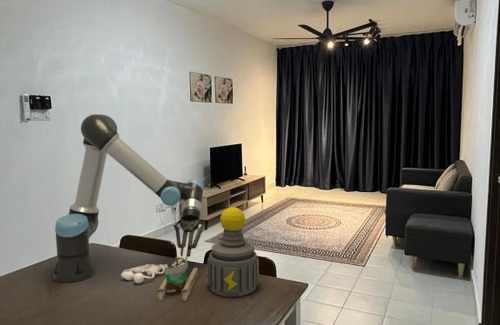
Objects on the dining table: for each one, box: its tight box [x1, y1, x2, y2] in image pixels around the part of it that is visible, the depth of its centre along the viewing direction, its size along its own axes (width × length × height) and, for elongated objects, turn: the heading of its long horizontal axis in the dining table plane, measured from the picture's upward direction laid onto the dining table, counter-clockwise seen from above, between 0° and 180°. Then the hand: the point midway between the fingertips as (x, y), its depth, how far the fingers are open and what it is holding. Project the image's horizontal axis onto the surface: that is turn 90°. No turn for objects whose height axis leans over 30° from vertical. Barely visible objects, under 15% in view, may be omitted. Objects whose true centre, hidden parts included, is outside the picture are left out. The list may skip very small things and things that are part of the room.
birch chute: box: [156, 267, 198, 302], centre depth 143 cm, size 10×22×4 cm, turn 178°
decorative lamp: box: [206, 206, 260, 298], centre depth 142 cm, size 19×19×30 cm
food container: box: [164, 256, 189, 295], centre depth 141 cm, size 12×6×10 cm, turn 173°
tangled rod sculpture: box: [120, 263, 169, 284], centre depth 155 cm, size 19×14×4 cm
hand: (184, 263), depth 151 cm, fingers closed
